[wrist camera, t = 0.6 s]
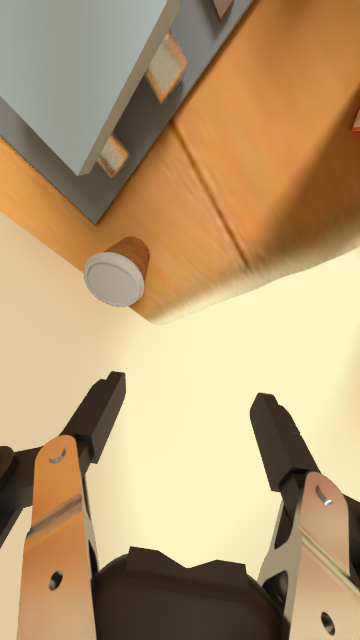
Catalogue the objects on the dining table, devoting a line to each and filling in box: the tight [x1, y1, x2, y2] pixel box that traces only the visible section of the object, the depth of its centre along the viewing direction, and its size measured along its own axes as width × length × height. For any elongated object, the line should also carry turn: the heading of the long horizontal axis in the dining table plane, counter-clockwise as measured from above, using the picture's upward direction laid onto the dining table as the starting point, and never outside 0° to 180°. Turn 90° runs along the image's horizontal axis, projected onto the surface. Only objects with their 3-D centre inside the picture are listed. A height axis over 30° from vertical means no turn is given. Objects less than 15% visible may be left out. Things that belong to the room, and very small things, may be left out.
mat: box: [0, 0, 254, 224], centre depth 17 cm, size 18×38×1 cm, turn 131°
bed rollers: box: [96, 26, 189, 180], centre depth 17 cm, size 16×14×4 cm
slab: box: [0, 0, 181, 176], centre depth 15 cm, size 12×16×3 cm
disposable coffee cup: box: [84, 237, 150, 307], centre depth 31 cm, size 10×10×12 cm
